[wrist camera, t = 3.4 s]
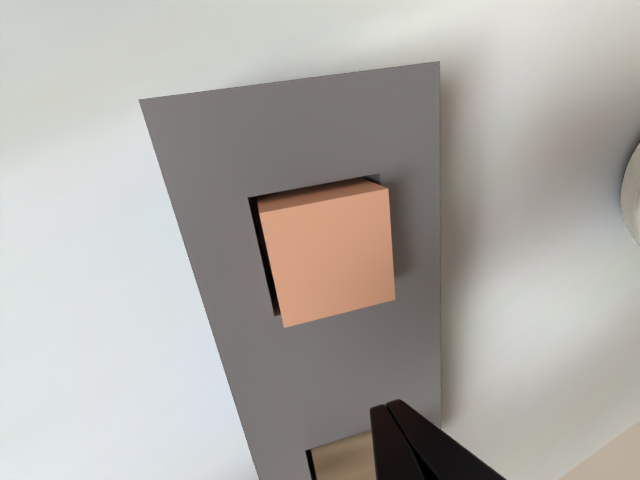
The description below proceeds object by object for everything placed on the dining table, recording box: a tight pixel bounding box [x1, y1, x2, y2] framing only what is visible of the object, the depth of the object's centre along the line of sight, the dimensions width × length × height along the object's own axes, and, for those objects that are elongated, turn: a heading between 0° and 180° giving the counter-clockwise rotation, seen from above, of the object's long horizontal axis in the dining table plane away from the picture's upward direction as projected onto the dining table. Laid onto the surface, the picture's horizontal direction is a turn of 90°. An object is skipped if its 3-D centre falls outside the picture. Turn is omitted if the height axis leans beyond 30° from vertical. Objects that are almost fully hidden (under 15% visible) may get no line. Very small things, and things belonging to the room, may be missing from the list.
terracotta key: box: [257, 177, 395, 328], centre depth 13 cm, size 4×4×4 cm
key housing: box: [139, 61, 441, 480], centre depth 17 cm, size 25×10×5 cm, turn 8°
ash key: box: [311, 430, 376, 480], centre depth 16 cm, size 4×4×4 cm
